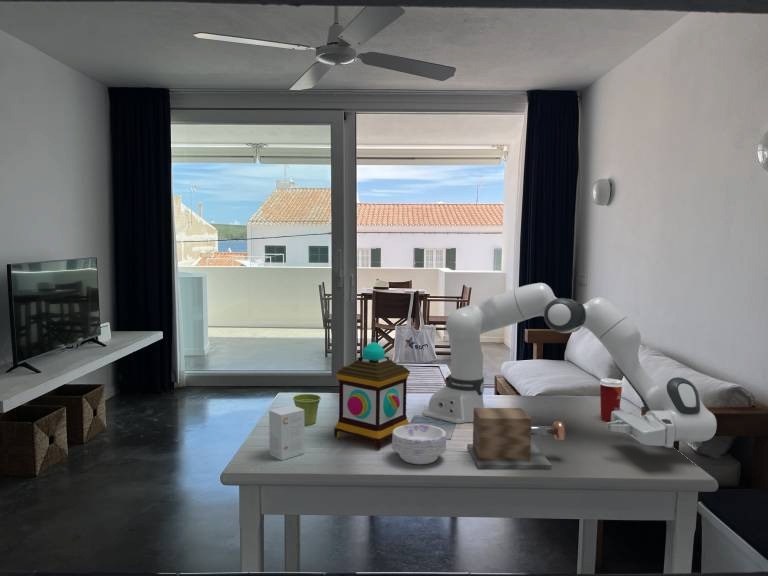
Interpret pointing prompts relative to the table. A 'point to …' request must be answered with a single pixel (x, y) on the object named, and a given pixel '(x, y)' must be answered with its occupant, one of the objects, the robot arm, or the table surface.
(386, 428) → the decorative lantern
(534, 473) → the table surface
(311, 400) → the plant pot
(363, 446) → the table surface
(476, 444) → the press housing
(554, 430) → the plunger
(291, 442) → the small box
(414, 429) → the paper bowls
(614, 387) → the paper cup
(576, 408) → the table surface
